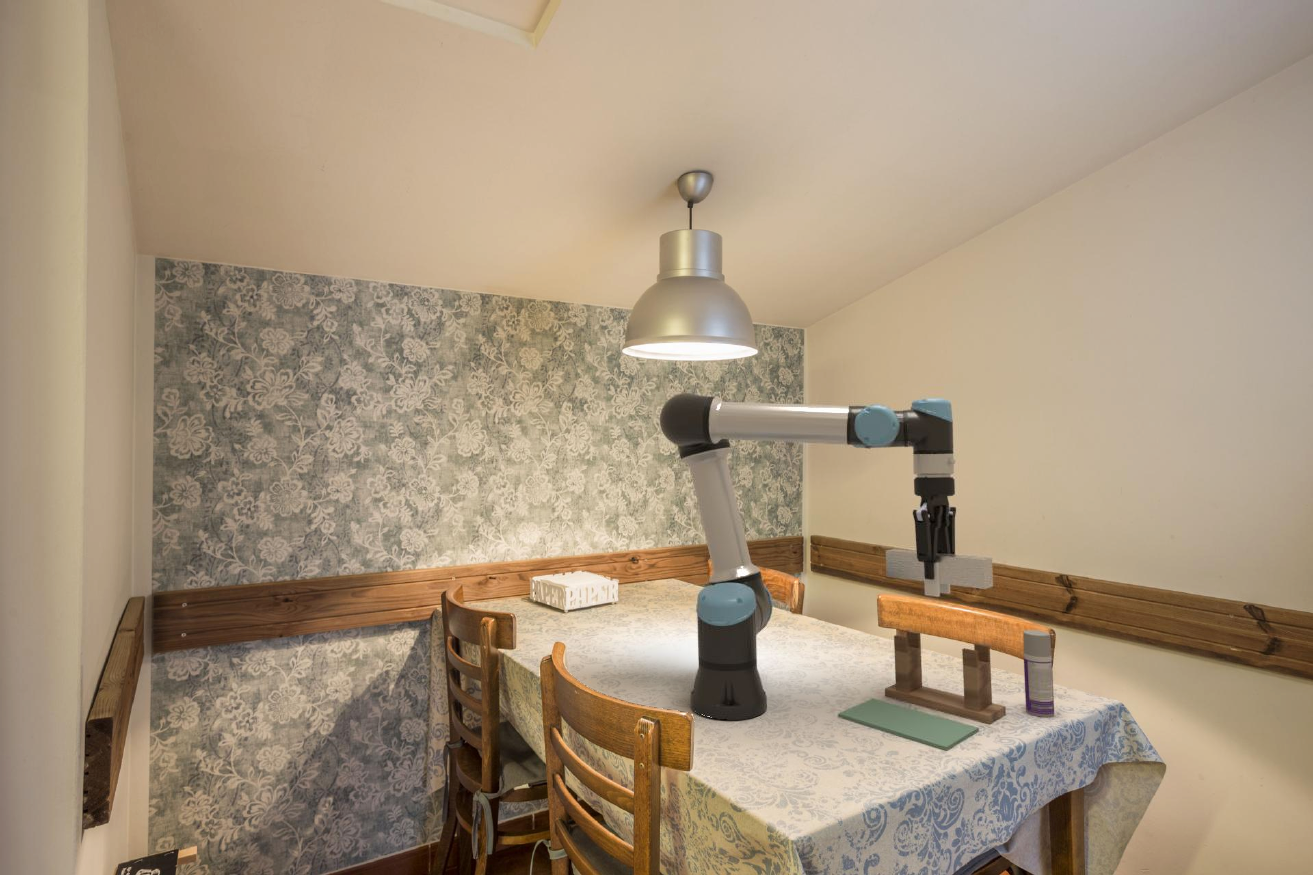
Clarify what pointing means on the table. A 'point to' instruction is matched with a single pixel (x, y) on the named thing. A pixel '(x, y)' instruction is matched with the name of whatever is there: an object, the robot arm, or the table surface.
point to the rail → (942, 568)
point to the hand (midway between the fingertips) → (937, 593)
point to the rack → (968, 706)
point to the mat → (909, 723)
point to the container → (1038, 673)
